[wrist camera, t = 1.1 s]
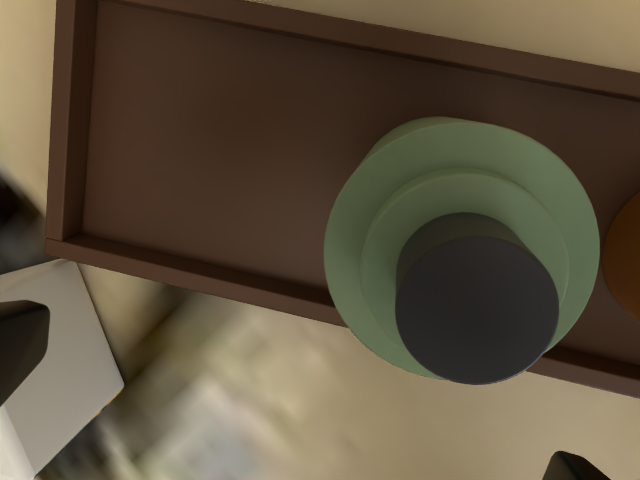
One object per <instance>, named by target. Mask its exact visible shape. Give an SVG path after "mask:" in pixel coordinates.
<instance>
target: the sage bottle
mask: <svg viewBox="0 0 640 480" xmlns="http://www.w3.org/2000/svg"><path fill="white" fill-rule="evenodd" d="M599 257H600V238H599V232H598V226H597V220H596V217H595V214H594V210H593V207H592V204H591V202H590V200H589V198H588V196H587V194H586V192H585V190H584V188H583V186H582V185H581V183H580V182H579V180H578V179H577V177H576V176H575V174H574V173H573V172H572V171H571V169H570V168H569V167H568V166H567V165H566V164H565V163H564V162H563V161H562V160H561V159H560V158H559V157H558V156H557V155H555V154H554V153H553V152H552V151H550V150H549V149H548V148H547V147H545V146H544V145H542V144H540V143H539V142H537V141H535V140H534V139H532V138H530V137H528V136H526V135H523V134H521V133H519V132H516V131H514V130H512V129H508V128H504V127H500V126H497V125H493V124H487V123H481V122H475V121H470V120H464V119H458V118H451V117H444V116H432V117H425V118H419V119H416V120H412V121H409V122H407V123H404V124H402V125H400V126H398V127H396V128H395V129H393V130H391V131H390V132H388V133H387V134H386V135H384V136H383V137H382V138H381V139H380V140H379V141H378V142H377V143H376V144H375V145H374V146H373V148H372V149H371V150H370V151H369V153H368V154H367V155H366V157H365V158H364V159H363V161H362V162H361V163H360V165H359V166H358V167H357V169H356V170H355V171H354V173H353V174H352V175H351V176H350V178H349V179H348V180H347V182H346V183H345V185H344V186H343V188H342V190H341V192H340V193H339V195H338V197H337V198H336V201H335V203H334V206H333V208H332V210H331V213H330V216H329V219H328V223H327V227H326V231H325V239H324V269H325V276H326V281H327V284H328V288H329V292H330V295H331V297H332V299H333V302H334V304H335V306H336V309H337V310H338V312H339V314H340V315H341V317H342V319H343V321H344V322H345V323H346V325H347V326H348V327H349V329H350V330H351V331H352V332H353V334H354V335H355V336H356V337H357V338H358V339H359V340H360V341H361V342H362V343H363V344H364V345H365V346H366V347H367V348H369V349H370V350H371V351H373V352H374V353H375V354H376V355H378V356H379V357H381V358H382V359H384V360H386V361H387V362H389V363H391V364H392V365H395V366H397V367H399V368H401V369H403V370H406V371H408V372H411V373H414V374H418V375H421V376H424V377H430V378H435V379H440V380H450V381H453V382H457V383H462V384H471V385H483V384H491V383H497V382H500V381H504V380H507V379H509V378H512V377H514V376H516V375H518V374H520V373H522V372H523V371H525V370H526V369H528V368H529V367H531V366H532V365H533V364H534V363H535V362H536V361H537V360H538V359H539V358H540V357H541V356H542V355H543V354H544V353H545V352H547V351H548V350H549V349H551V348H552V347H553V346H554V345H555V344H556V343H557V342H558V341H559V340H561V339H562V338H563V337H564V336H565V335H566V333H567V332H568V331H569V330H570V329H571V327H572V326H573V325H574V324H575V322H576V321H577V319H578V318H579V316H580V315H581V313H582V311H583V310H584V308H585V306H586V304H587V302H588V300H589V297H590V295H591V293H592V290H593V287H594V283H595V280H596V276H597V273H598V265H599Z"/></svg>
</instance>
